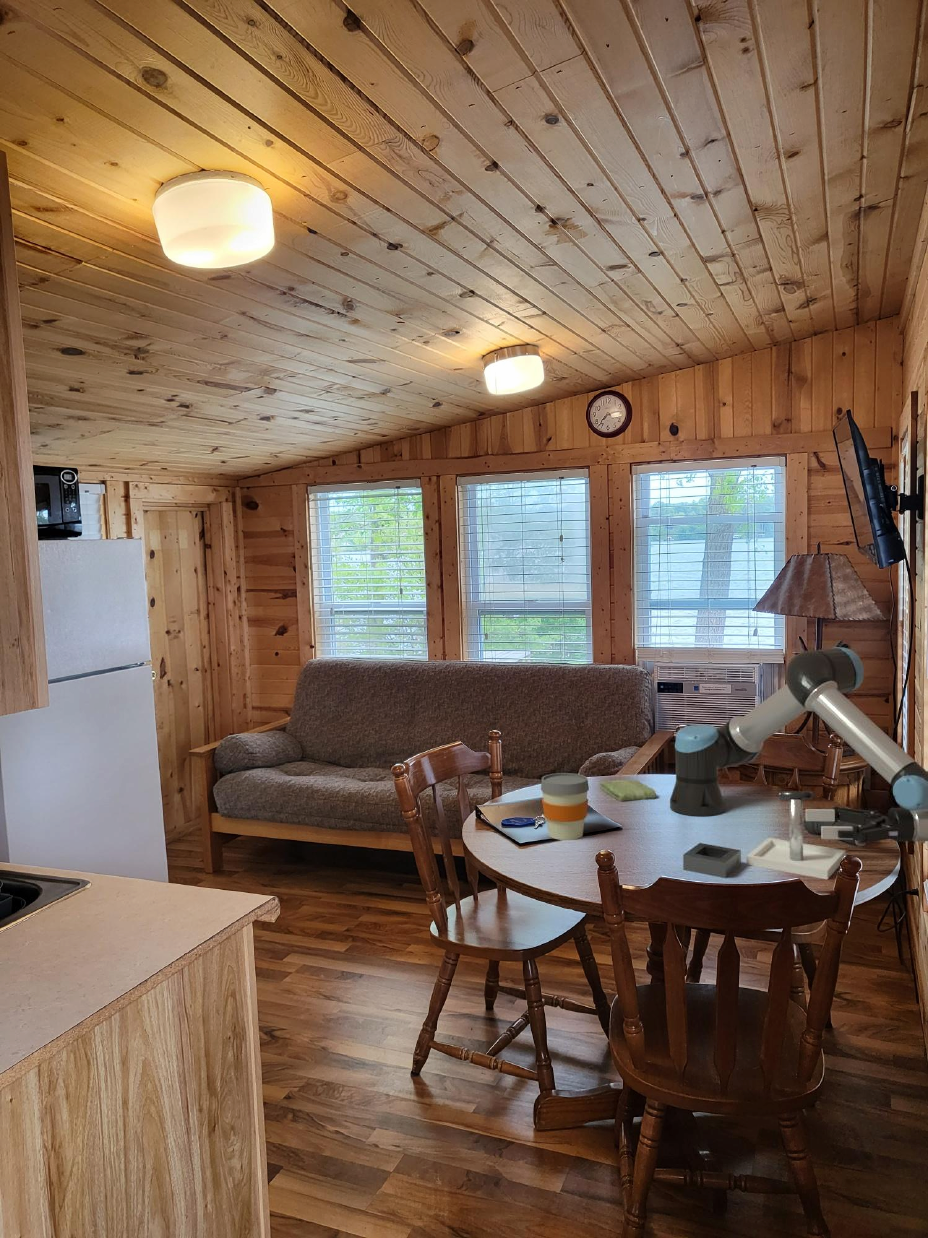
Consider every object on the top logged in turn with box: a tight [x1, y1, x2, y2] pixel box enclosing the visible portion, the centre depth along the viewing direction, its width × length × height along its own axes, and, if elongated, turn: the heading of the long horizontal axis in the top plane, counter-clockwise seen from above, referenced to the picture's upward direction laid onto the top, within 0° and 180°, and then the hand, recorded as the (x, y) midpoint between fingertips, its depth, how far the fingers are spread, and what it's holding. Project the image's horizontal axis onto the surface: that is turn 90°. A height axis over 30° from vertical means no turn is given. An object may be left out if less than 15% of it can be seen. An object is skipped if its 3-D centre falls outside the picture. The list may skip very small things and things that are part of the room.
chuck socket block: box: [682, 842, 742, 879], centre depth 203 cm, size 10×10×4 cm
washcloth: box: [599, 779, 657, 802], centre depth 269 cm, size 13×18×3 cm
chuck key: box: [776, 790, 815, 861], centre depth 205 cm, size 8×3×16 cm, turn 83°
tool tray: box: [746, 837, 847, 880], centre depth 205 cm, size 18×16×2 cm
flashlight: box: [803, 816, 867, 847], centre depth 221 cm, size 15×5×5 cm, turn 34°
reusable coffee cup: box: [540, 772, 589, 841], centre depth 230 cm, size 13×13×15 cm
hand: (813, 823), depth 203 cm, fingers open, 13 cm apart
